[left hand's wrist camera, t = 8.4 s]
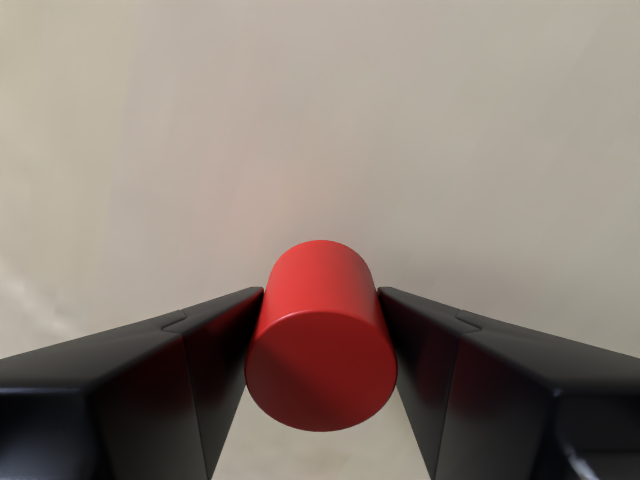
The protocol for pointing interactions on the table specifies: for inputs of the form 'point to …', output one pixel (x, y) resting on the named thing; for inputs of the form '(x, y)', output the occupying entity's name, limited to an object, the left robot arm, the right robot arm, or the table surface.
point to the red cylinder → (320, 341)
